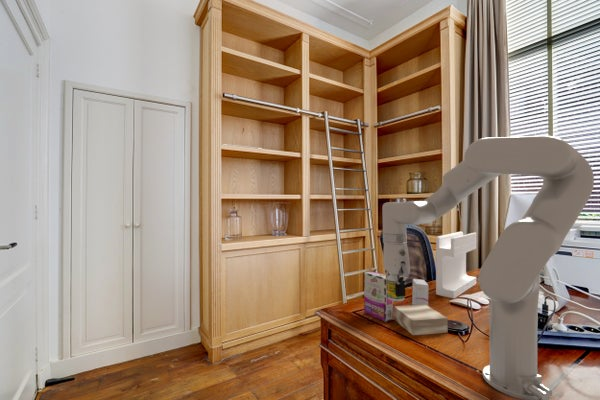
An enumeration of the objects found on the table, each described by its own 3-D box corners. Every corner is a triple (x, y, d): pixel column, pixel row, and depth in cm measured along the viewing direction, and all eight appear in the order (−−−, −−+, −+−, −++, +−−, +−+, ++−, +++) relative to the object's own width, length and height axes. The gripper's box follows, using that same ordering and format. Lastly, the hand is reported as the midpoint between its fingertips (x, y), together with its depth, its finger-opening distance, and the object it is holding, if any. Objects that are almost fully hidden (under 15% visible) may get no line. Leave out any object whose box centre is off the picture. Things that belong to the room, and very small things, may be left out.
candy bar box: (394, 319, 109) (394, 276, 109) (385, 322, 107) (385, 278, 107) (372, 310, 119) (372, 270, 119) (363, 312, 116) (363, 272, 116)
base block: (447, 332, 99) (447, 318, 99) (412, 335, 97) (412, 320, 97) (425, 317, 112) (425, 304, 112) (394, 319, 110) (394, 306, 110)
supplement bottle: (405, 297, 97) (405, 269, 97) (402, 302, 92) (402, 272, 92) (389, 295, 99) (388, 267, 99) (385, 299, 95) (385, 270, 95)
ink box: (428, 314, 115) (429, 284, 115) (415, 313, 116) (415, 283, 116) (424, 306, 123) (424, 278, 123) (411, 305, 124) (411, 278, 124)
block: (460, 280, 163) (460, 231, 163) (476, 283, 157) (476, 232, 157) (436, 294, 139) (436, 236, 139) (453, 298, 133) (454, 238, 133)
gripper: (419, 241, 88) (420, 300, 88) (392, 235, 105) (393, 285, 105) (396, 242, 87) (398, 302, 87) (373, 236, 104) (374, 286, 104)
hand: (395, 292), depth 96 cm, fingers closed on supplement bottle, 5 cm apart
